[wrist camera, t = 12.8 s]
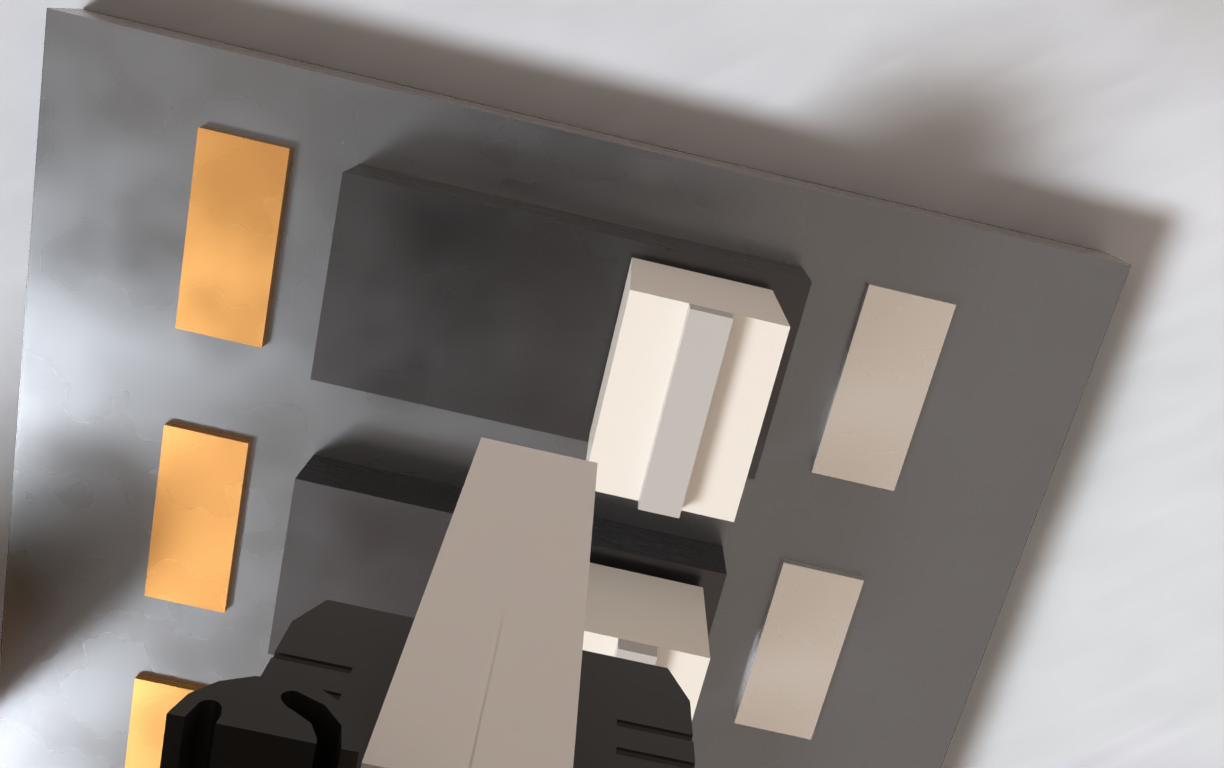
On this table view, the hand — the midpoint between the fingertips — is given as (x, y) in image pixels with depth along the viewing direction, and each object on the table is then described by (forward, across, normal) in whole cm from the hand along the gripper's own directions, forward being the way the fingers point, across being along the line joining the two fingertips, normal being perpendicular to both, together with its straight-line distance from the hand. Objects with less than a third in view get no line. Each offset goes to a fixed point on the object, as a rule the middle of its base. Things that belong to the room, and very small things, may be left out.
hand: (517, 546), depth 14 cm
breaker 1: (+10, +2, 0) cm, 10 cm away
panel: (+13, 0, -7) cm, 15 cm away
